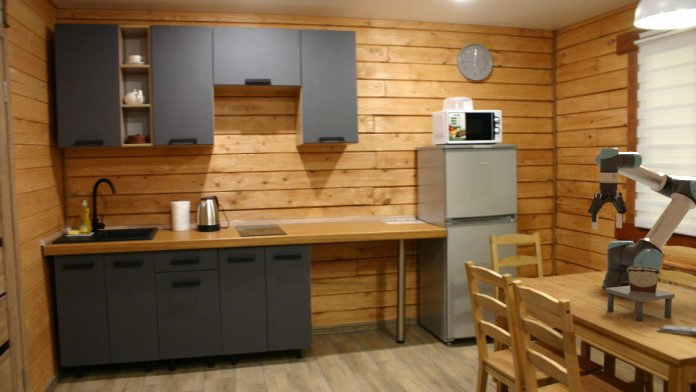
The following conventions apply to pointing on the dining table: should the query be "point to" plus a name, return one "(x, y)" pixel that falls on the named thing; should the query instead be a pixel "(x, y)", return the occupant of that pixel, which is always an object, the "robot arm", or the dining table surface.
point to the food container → (643, 279)
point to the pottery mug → (623, 285)
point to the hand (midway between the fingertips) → (607, 228)
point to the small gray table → (639, 299)
